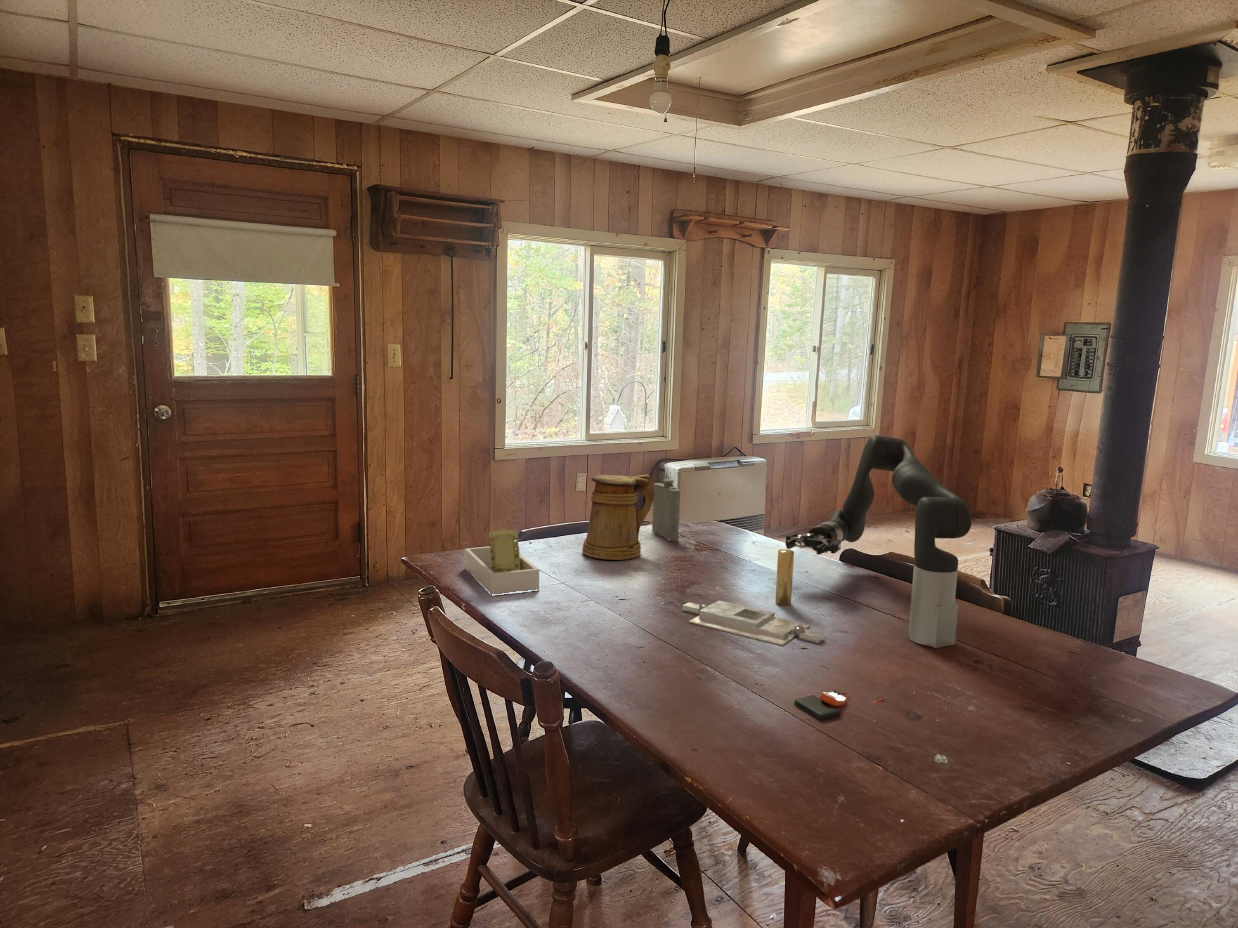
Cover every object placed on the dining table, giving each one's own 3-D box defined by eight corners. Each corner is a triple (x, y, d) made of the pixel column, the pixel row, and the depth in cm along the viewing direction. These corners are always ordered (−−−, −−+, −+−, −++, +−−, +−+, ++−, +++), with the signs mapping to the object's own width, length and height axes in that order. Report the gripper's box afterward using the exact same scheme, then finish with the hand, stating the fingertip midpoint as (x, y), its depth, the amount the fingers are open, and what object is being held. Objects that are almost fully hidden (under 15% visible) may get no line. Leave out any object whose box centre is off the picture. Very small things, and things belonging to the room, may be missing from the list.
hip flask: (650, 531, 286) (652, 476, 283) (660, 530, 287) (662, 475, 284) (671, 542, 271) (673, 483, 268) (682, 541, 273) (684, 483, 270)
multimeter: (854, 682, 161) (855, 666, 161) (897, 708, 150) (898, 690, 150) (779, 697, 154) (779, 680, 154) (817, 724, 143) (818, 706, 143)
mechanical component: (522, 596, 228) (517, 527, 233) (521, 591, 211) (516, 516, 216) (495, 599, 227) (490, 529, 232) (491, 594, 211) (487, 519, 215)
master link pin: (794, 605, 208) (797, 552, 206) (781, 606, 206) (784, 553, 204) (784, 600, 211) (787, 548, 209) (772, 602, 210) (775, 549, 208)
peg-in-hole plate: (833, 631, 189) (834, 621, 189) (807, 651, 176) (807, 641, 176) (701, 601, 209) (701, 592, 209) (668, 617, 196) (668, 607, 196)
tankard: (573, 549, 259) (574, 472, 255) (638, 543, 269) (640, 469, 265) (596, 564, 242) (597, 482, 239) (664, 556, 253) (667, 478, 249)
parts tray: (539, 591, 214) (539, 569, 213) (491, 596, 209) (491, 574, 208) (508, 564, 240) (508, 544, 239) (465, 568, 234) (464, 548, 233)
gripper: (802, 519, 233) (778, 530, 220) (850, 527, 225) (829, 538, 211) (801, 544, 234) (777, 556, 221) (848, 553, 226) (827, 566, 213)
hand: (802, 548), depth 216 cm, fingers open, 8 cm apart
